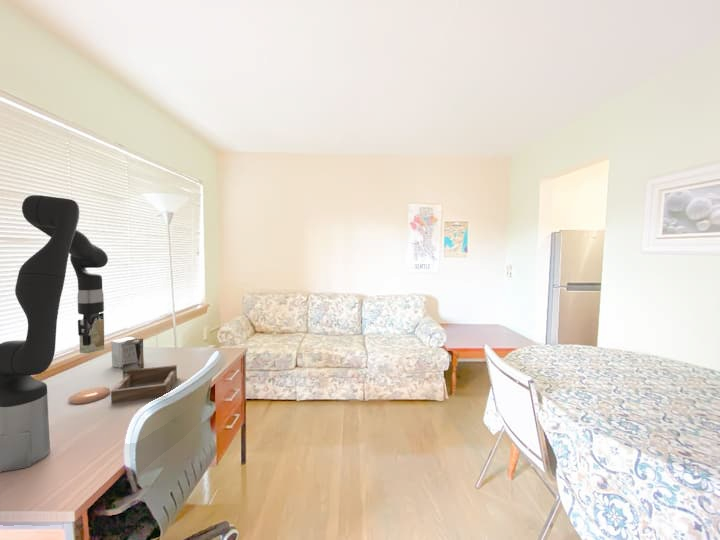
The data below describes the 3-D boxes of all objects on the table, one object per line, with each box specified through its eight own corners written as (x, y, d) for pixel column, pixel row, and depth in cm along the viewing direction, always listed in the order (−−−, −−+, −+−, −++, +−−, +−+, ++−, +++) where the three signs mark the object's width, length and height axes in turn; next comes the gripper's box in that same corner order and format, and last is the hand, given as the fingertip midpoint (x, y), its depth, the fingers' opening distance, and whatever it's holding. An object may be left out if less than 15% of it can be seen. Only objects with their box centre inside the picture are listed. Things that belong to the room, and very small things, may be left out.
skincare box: (87, 354, 113) (86, 322, 112) (79, 353, 114) (77, 321, 113) (105, 349, 119) (104, 319, 118) (97, 348, 120) (96, 318, 119)
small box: (129, 361, 155) (128, 336, 154) (137, 362, 153) (136, 337, 152) (111, 366, 147) (110, 340, 146) (120, 368, 145) (119, 342, 144)
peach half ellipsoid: (101, 401, 114) (101, 398, 114) (61, 406, 110) (61, 403, 109) (115, 387, 125) (115, 385, 125) (79, 391, 121) (78, 389, 121)
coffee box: (140, 378, 135) (139, 343, 134) (122, 380, 132) (121, 345, 131) (144, 370, 143) (143, 337, 142) (128, 372, 140) (127, 339, 139)
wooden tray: (166, 395, 119) (166, 381, 118) (111, 403, 112) (110, 387, 112) (176, 377, 136) (176, 364, 135) (129, 383, 129) (128, 369, 129)
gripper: (93, 303, 110) (94, 346, 111) (111, 297, 123) (112, 336, 124) (67, 304, 107) (69, 348, 108) (88, 298, 121) (90, 338, 122)
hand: (92, 342), depth 116 cm, fingers closed on skincare box, 7 cm apart
